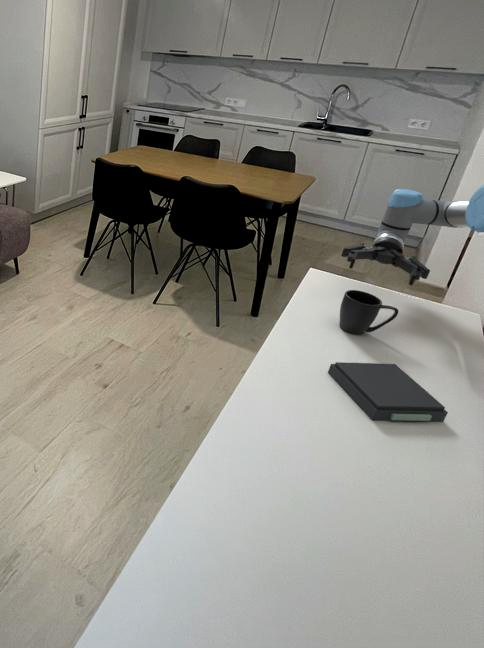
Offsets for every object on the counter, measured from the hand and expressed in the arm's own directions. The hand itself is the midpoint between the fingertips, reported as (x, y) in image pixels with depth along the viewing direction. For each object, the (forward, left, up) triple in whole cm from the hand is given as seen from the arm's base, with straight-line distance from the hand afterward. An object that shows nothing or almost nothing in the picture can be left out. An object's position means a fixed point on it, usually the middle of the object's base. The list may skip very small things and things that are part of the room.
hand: (381, 271), depth 131 cm
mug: (-7, +6, -14) cm, 17 cm away
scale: (-32, +18, -14) cm, 40 cm away
